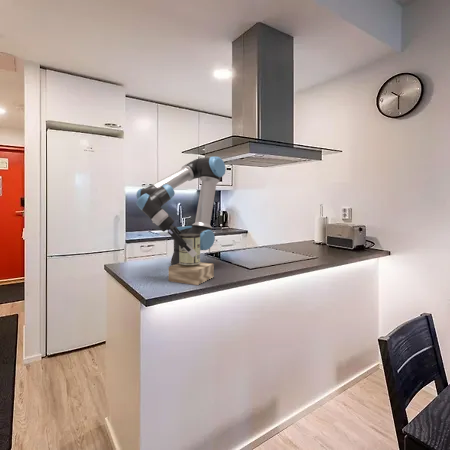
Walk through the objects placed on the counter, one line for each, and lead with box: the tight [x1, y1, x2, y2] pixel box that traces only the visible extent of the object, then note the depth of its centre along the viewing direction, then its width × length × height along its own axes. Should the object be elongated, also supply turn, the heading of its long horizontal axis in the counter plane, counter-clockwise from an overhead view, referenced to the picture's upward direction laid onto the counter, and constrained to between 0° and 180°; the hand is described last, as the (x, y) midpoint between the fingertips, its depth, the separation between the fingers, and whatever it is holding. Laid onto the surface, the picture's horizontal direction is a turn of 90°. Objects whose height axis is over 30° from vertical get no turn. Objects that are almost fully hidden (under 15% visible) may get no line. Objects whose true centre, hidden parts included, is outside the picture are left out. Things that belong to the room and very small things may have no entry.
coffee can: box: [179, 233, 201, 265], centre depth 149 cm, size 10×10×14 cm
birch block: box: [168, 261, 215, 286], centre depth 150 cm, size 16×16×7 cm
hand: (196, 253), depth 149 cm, fingers closed on coffee can, 10 cm apart
